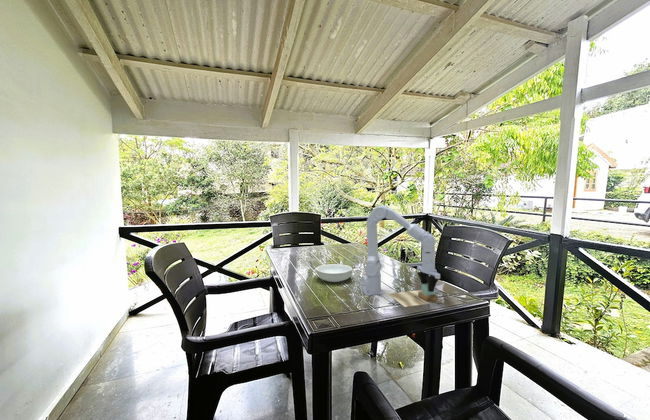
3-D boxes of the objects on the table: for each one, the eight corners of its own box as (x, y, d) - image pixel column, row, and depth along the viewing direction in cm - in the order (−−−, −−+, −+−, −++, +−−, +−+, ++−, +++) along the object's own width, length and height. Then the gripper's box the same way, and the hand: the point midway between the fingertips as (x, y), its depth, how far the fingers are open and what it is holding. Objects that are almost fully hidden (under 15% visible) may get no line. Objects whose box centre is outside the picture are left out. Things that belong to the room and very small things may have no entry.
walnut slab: (426, 301, 123) (426, 296, 123) (418, 297, 129) (418, 291, 129) (437, 300, 125) (437, 295, 125) (429, 295, 130) (429, 290, 130)
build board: (404, 308, 118) (404, 306, 118) (387, 294, 134) (387, 293, 134) (444, 302, 123) (444, 301, 123) (422, 290, 139) (422, 289, 139)
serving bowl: (357, 277, 162) (357, 265, 162) (343, 288, 144) (343, 275, 143) (326, 272, 172) (326, 262, 172) (309, 282, 154) (309, 270, 153)
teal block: (426, 295, 124) (426, 287, 124) (421, 292, 128) (421, 284, 128) (434, 294, 125) (434, 286, 125) (428, 291, 129) (429, 283, 129)
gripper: (446, 263, 120) (445, 294, 121) (426, 256, 134) (425, 283, 135) (432, 265, 118) (432, 295, 119) (413, 257, 132) (413, 285, 133)
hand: (427, 289), depth 127 cm, fingers open, 4 cm apart
